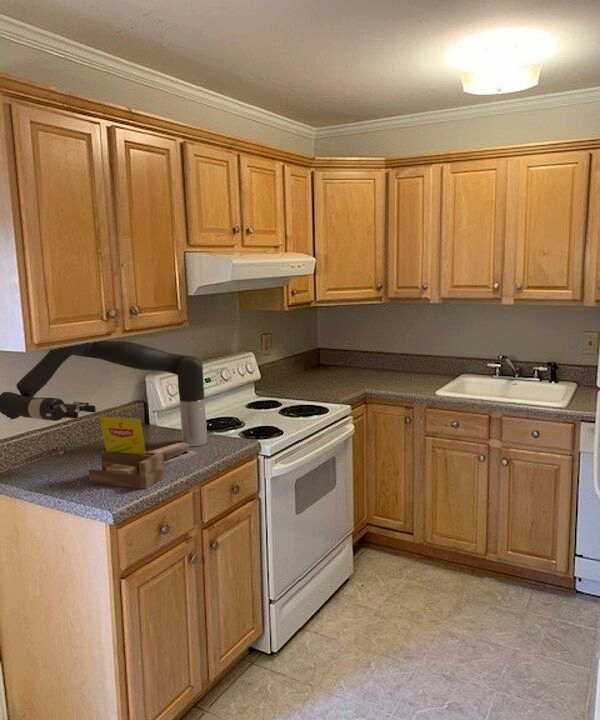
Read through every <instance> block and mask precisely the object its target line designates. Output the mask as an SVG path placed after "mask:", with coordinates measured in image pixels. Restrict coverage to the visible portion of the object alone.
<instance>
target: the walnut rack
mask: <svg viewBox="0 0 600 720" xmlns="http://www.w3.org/2000/svg"><path fill="white" fill-rule="evenodd" d="M100 459H101V461H100V462H101V470H100V469H95V468H94V469H93V468H91V469H88V478H89V479H88V481H89V483H91V482H93V484H100V483H101V484H102V485H109V486H110V485H111V486H118V487H128V488H135V487H136V488H137V489H146V490H147V489H148V488H150V487H152V486H153V485H155V484H156V483H158V482H159V481H161V480H163V479H165V466H164V462H163V453H152V452H149V451H146V455H142V454H131V453H120V452H109V451H106V450H102V451H100ZM113 464H121V465H127V466H134V467H137V473H138V474H132V473H123V472H113V471H106V467H109V466H111V465H113Z"/></svg>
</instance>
